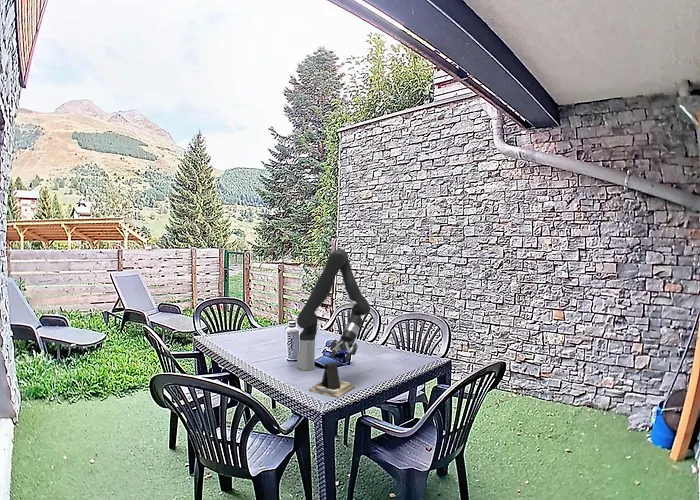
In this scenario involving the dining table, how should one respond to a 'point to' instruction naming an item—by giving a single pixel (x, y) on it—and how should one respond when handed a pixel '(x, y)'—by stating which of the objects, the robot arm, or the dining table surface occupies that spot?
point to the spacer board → (336, 393)
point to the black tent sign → (331, 377)
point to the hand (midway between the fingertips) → (338, 359)
